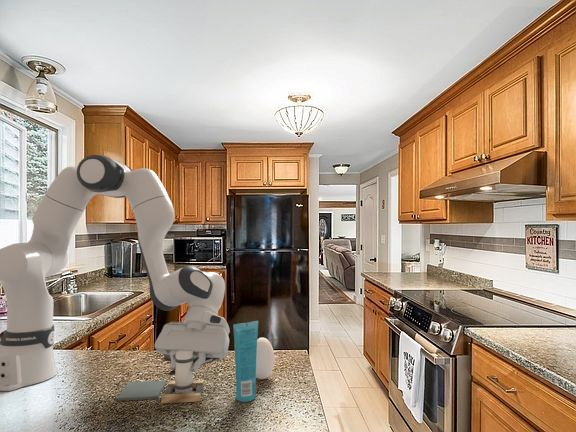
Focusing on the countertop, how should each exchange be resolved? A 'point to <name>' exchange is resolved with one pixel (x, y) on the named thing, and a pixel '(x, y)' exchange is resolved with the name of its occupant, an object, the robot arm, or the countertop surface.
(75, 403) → the countertop surface
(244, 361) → the tube
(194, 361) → the door handle
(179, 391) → the white cylinder
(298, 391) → the countertop surface
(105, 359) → the countertop surface
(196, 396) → the cradle
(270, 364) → the egg
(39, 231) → the robot arm
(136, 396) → the mat
